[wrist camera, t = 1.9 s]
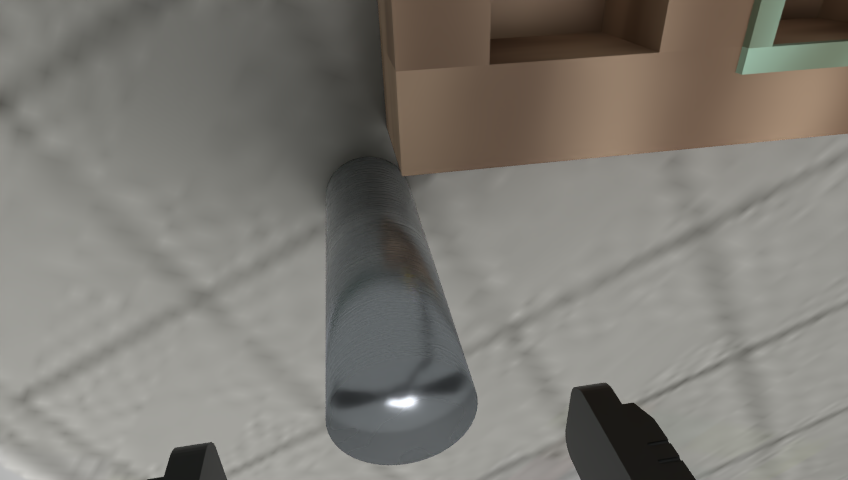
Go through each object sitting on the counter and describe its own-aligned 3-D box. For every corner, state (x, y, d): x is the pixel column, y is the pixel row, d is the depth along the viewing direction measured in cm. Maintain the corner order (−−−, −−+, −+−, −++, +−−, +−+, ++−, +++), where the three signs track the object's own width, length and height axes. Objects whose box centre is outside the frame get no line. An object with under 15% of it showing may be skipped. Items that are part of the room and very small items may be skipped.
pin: (407, 153, 22) (478, 346, 12) (411, 228, 24) (476, 452, 14) (320, 161, 22) (315, 369, 11) (331, 237, 23) (335, 475, 13)
